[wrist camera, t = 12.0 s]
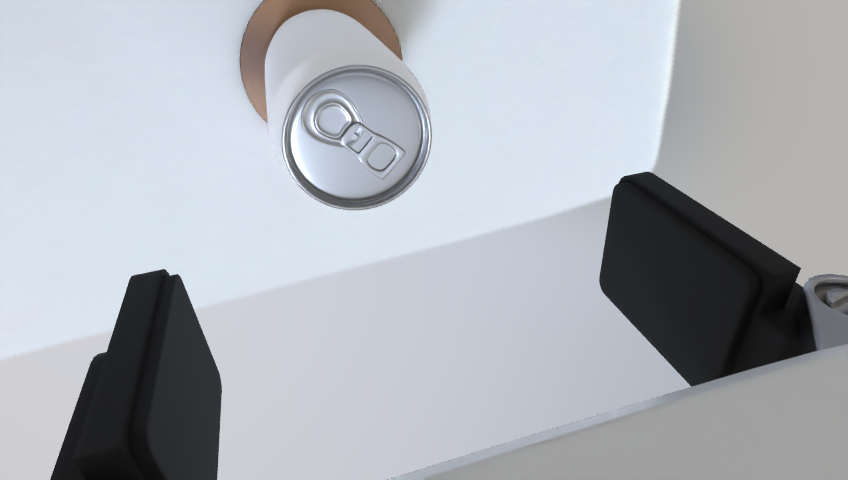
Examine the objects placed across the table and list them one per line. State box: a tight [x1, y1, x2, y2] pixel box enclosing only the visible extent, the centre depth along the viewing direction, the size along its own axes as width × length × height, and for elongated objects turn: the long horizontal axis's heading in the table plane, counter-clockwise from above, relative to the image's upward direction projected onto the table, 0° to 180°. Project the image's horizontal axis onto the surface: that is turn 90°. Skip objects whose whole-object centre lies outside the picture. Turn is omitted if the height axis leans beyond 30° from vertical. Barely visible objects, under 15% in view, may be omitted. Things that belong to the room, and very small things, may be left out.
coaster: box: [240, 0, 402, 123], centre depth 29 cm, size 9×9×1 cm
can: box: [265, 9, 432, 210], centre depth 24 cm, size 6×6×12 cm
